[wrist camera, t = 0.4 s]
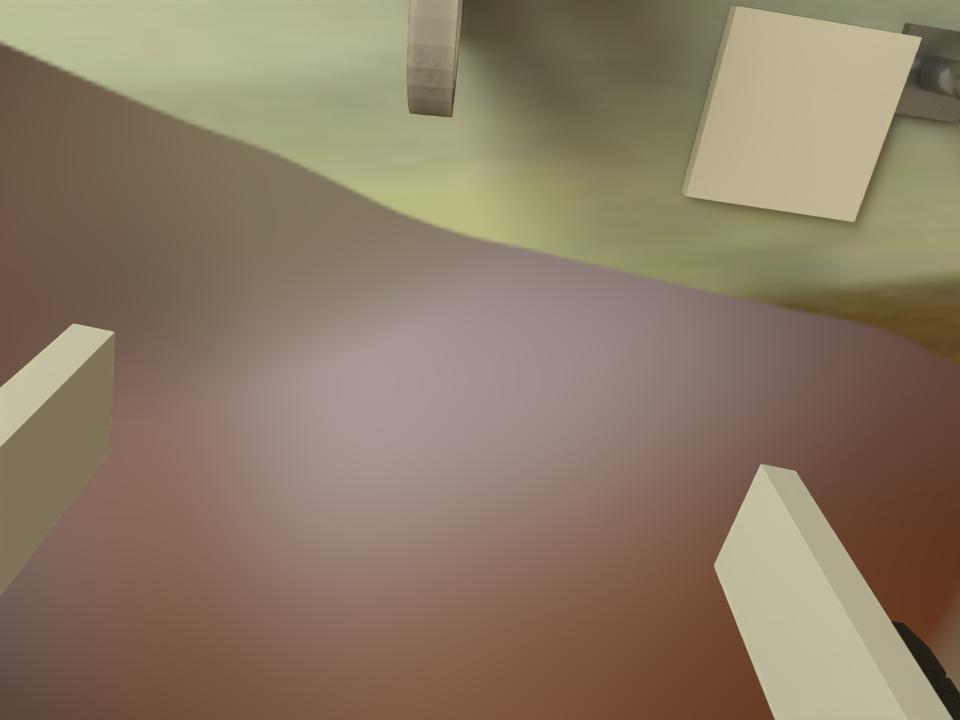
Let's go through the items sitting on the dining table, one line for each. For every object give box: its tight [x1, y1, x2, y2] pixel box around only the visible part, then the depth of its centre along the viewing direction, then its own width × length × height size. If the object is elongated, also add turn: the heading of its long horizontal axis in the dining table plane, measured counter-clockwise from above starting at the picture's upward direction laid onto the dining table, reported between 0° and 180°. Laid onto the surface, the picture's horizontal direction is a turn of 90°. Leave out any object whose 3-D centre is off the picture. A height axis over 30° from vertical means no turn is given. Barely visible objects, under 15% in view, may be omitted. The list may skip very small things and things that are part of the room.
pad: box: [681, 5, 922, 222], centre depth 40 cm, size 9×9×1 cm
